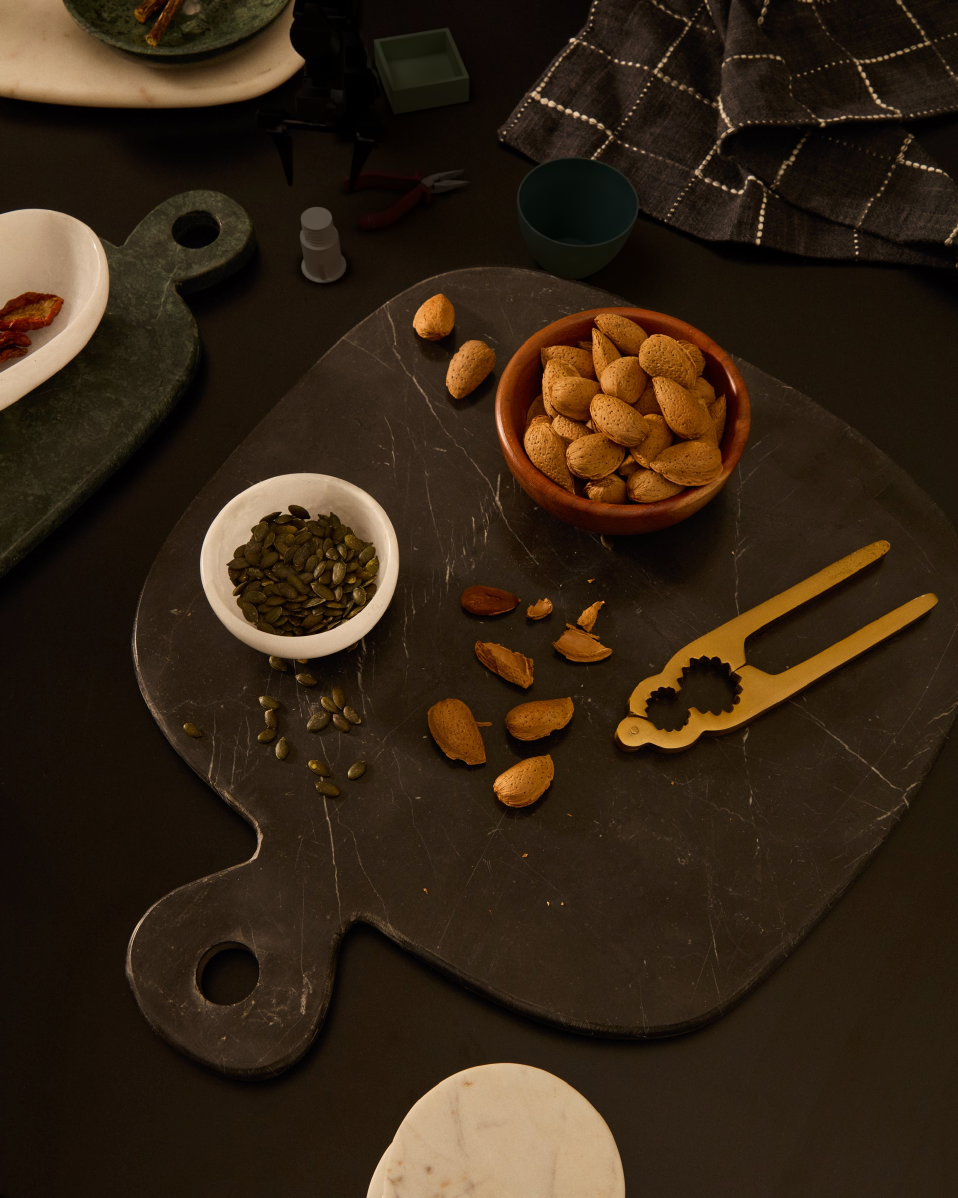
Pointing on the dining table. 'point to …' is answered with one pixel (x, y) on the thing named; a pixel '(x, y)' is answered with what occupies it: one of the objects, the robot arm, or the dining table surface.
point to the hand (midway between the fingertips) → (320, 188)
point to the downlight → (320, 246)
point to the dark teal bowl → (575, 215)
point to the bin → (421, 70)
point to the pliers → (415, 184)
